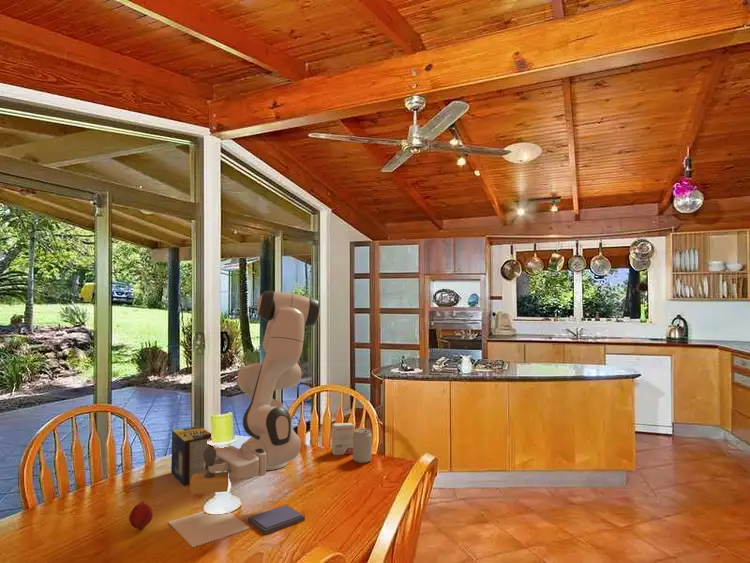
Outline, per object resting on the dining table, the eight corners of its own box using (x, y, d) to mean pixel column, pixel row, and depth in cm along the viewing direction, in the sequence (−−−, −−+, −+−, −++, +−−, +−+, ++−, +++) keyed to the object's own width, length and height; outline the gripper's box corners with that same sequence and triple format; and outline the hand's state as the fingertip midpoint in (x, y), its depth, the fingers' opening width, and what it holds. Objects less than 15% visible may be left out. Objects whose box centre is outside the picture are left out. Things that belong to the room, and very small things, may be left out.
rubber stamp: (189, 495, 135) (190, 451, 135) (192, 486, 140) (193, 444, 141) (227, 492, 137) (227, 448, 137) (228, 483, 143) (229, 442, 143)
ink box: (351, 450, 206) (352, 421, 206) (354, 454, 201) (354, 425, 201) (331, 451, 204) (332, 422, 204) (333, 455, 199) (334, 426, 199)
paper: (167, 522, 140) (167, 521, 140) (221, 506, 151) (221, 505, 151) (193, 548, 127) (193, 547, 127) (249, 528, 137) (249, 527, 137)
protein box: (199, 466, 184) (200, 425, 184) (213, 479, 172) (214, 435, 172) (170, 472, 178) (171, 429, 178) (183, 486, 166) (184, 440, 166)
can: (369, 464, 189) (369, 433, 189) (350, 462, 190) (350, 431, 191) (373, 458, 196) (373, 428, 197) (355, 456, 198) (355, 426, 198)
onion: (127, 535, 132) (127, 505, 132) (131, 526, 138) (131, 497, 138) (150, 533, 134) (151, 503, 134) (153, 523, 140) (154, 495, 140)
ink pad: (247, 521, 141) (247, 516, 141) (286, 508, 150) (286, 503, 150) (265, 534, 134) (265, 529, 134) (304, 520, 143) (304, 515, 143)
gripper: (235, 438, 155) (192, 447, 146) (268, 454, 140) (222, 466, 131) (235, 458, 155) (191, 468, 146) (268, 477, 140) (222, 489, 131)
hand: (206, 467), depth 138 cm, fingers closed on rubber stamp
